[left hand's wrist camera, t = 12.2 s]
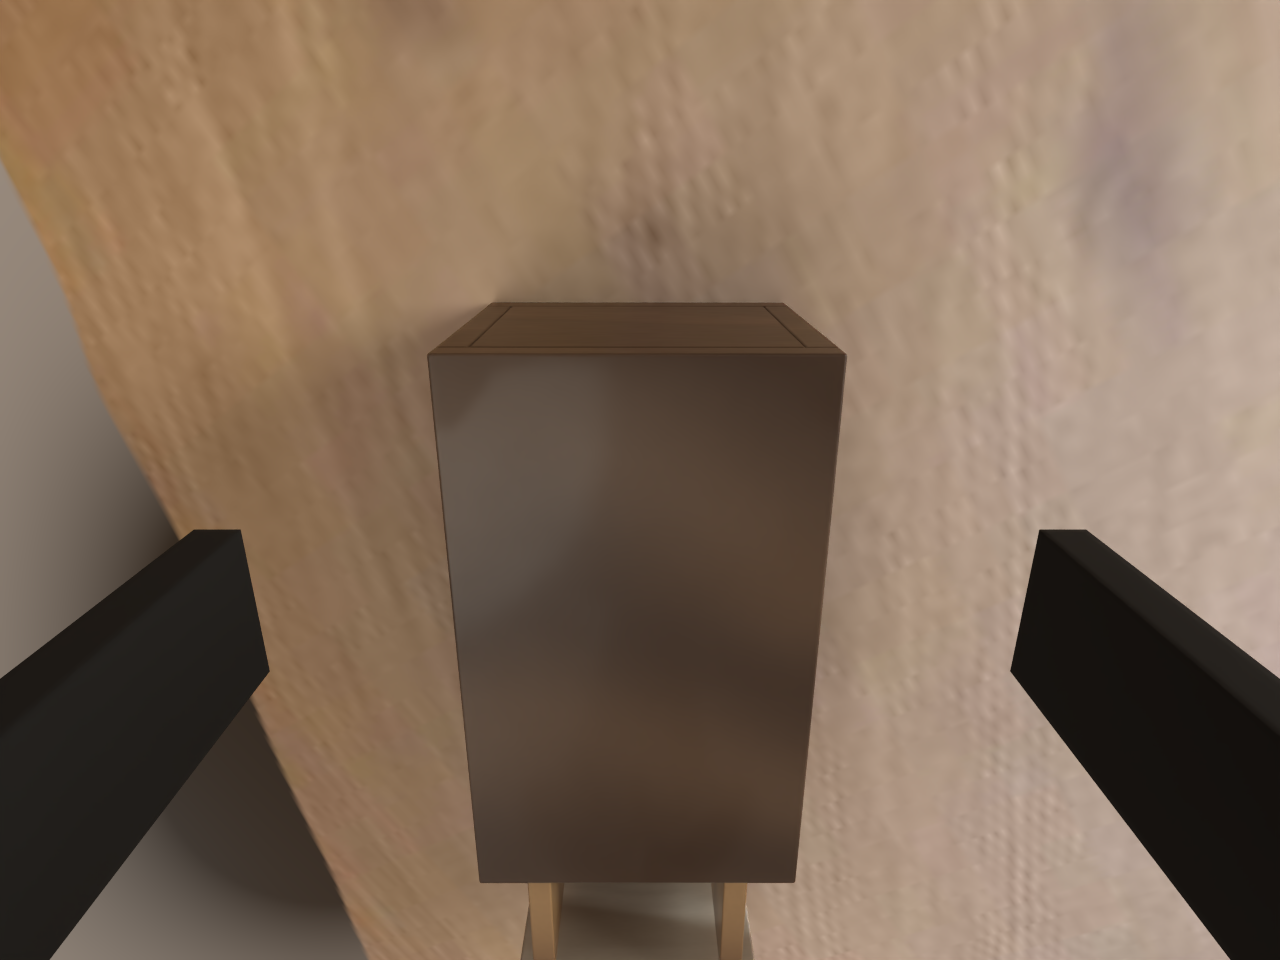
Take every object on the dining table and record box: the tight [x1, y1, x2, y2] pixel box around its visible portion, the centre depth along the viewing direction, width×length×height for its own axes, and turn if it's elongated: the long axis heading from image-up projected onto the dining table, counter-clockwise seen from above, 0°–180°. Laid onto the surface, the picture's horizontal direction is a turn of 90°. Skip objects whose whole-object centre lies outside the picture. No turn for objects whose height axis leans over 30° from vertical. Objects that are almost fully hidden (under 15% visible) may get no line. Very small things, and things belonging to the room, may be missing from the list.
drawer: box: [521, 883, 755, 960], centre depth 29 cm, size 21×9×7 cm, turn 0°
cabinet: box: [427, 303, 847, 883], centre depth 26 cm, size 17×10×9 cm, turn 0°
